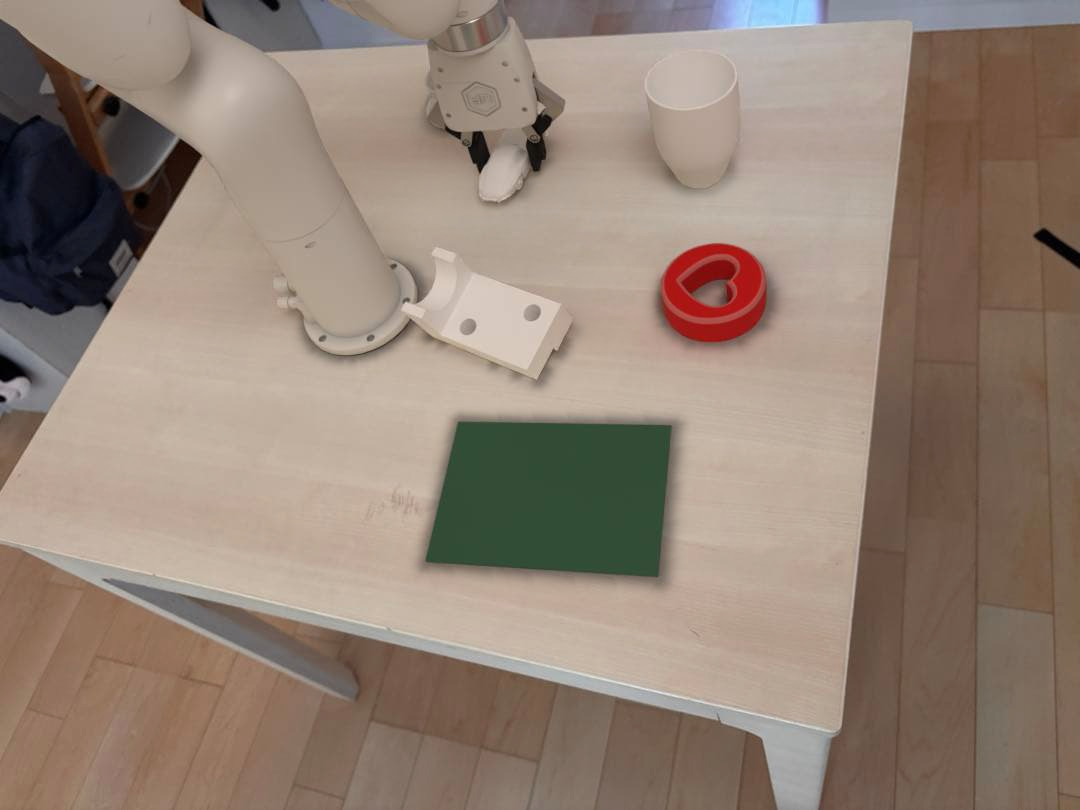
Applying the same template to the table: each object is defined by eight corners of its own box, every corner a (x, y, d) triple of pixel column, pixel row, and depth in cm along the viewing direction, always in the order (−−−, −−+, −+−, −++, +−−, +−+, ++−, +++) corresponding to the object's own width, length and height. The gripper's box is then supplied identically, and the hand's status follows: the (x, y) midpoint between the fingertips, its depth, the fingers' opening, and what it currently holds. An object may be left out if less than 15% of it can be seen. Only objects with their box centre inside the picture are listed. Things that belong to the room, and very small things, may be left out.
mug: (726, 207, 89) (720, 113, 79) (646, 195, 92) (630, 103, 82) (760, 130, 94) (758, 32, 84) (683, 121, 97) (672, 26, 87)
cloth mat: (426, 562, 75) (425, 560, 74) (459, 423, 82) (458, 421, 82) (658, 577, 69) (657, 575, 69) (671, 426, 76) (671, 425, 76)
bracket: (437, 340, 89) (400, 310, 82) (468, 281, 90) (435, 246, 83) (540, 383, 83) (510, 354, 77) (573, 319, 84) (546, 285, 78)
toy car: (551, 136, 100) (545, 112, 98) (512, 209, 95) (504, 186, 92) (514, 133, 102) (507, 108, 99) (473, 204, 97) (464, 181, 94)
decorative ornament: (652, 280, 86) (648, 259, 83) (747, 251, 85) (746, 229, 82) (679, 354, 80) (676, 334, 78) (781, 324, 79) (781, 302, 77)
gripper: (376, 51, 84) (433, 191, 98) (548, 35, 79) (581, 184, 94) (395, 5, 88) (447, 147, 102) (560, -13, 83) (590, 138, 98)
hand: (511, 163), depth 98 cm, fingers closed on toy car, 5 cm apart
